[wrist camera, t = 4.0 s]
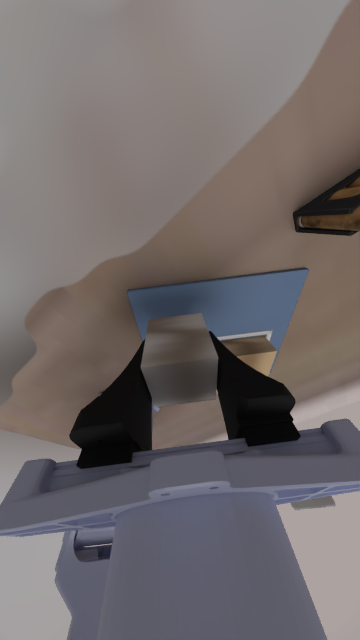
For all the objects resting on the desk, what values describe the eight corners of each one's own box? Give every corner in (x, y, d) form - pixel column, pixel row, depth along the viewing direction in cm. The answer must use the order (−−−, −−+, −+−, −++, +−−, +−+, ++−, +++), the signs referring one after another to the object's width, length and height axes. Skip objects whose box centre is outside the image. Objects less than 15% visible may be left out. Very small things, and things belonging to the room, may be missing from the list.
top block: (158, 356, 15) (155, 407, 11) (148, 319, 13) (140, 367, 9) (202, 350, 15) (215, 399, 11) (201, 312, 13) (218, 357, 9)
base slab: (208, 377, 26) (212, 394, 24) (208, 342, 22) (214, 359, 19) (254, 371, 26) (264, 387, 24) (264, 335, 22) (277, 351, 19)
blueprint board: (157, 384, 27) (157, 387, 26) (127, 290, 17) (126, 292, 16) (269, 370, 27) (270, 373, 27) (305, 267, 17) (309, 269, 16)
